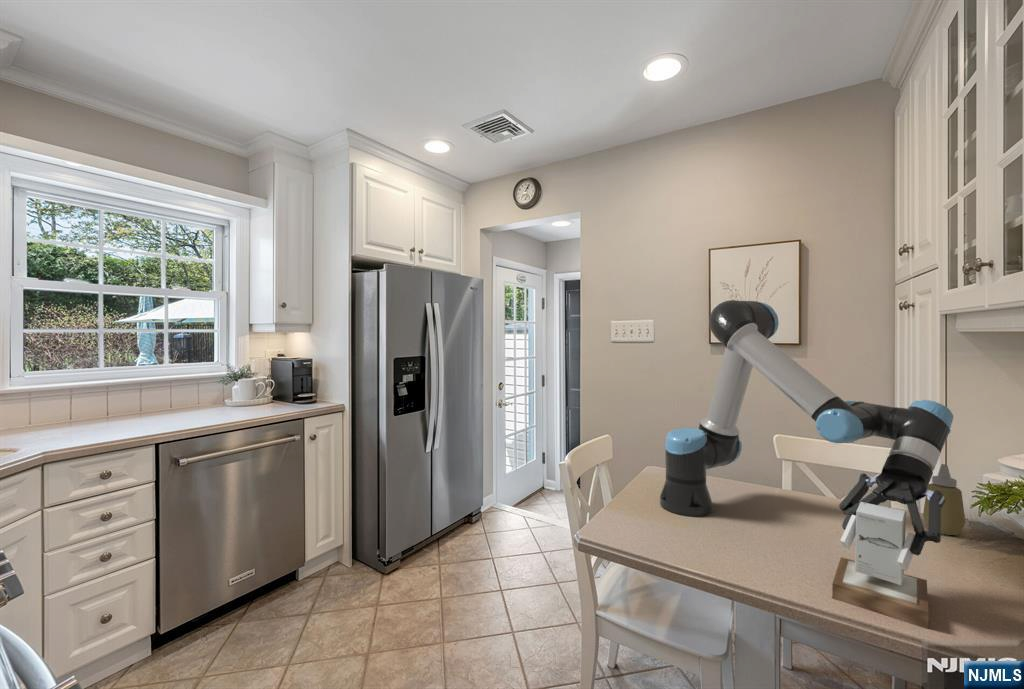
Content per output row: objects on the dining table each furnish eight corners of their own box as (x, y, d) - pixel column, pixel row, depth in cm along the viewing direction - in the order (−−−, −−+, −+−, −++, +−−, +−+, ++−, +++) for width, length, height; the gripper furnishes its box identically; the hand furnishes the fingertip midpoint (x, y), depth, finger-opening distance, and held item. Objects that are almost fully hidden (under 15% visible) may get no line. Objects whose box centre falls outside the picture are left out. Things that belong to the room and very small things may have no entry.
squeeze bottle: (963, 531, 118) (964, 464, 117) (967, 541, 112) (967, 471, 111) (922, 522, 123) (923, 458, 123) (923, 532, 117) (924, 465, 117)
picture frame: (832, 597, 88) (832, 581, 88) (840, 570, 99) (840, 555, 98) (928, 628, 79) (928, 610, 79) (926, 594, 89) (926, 578, 89)
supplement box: (853, 572, 89) (854, 510, 88) (859, 559, 94) (859, 500, 94) (902, 587, 83) (903, 521, 83) (906, 572, 89) (906, 509, 88)
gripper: (986, 489, 86) (951, 592, 79) (858, 461, 105) (820, 542, 98) (975, 466, 83) (938, 570, 76) (846, 442, 102) (806, 524, 95)
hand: (872, 555), depth 87 cm, fingers closed on supplement box, 9 cm apart
